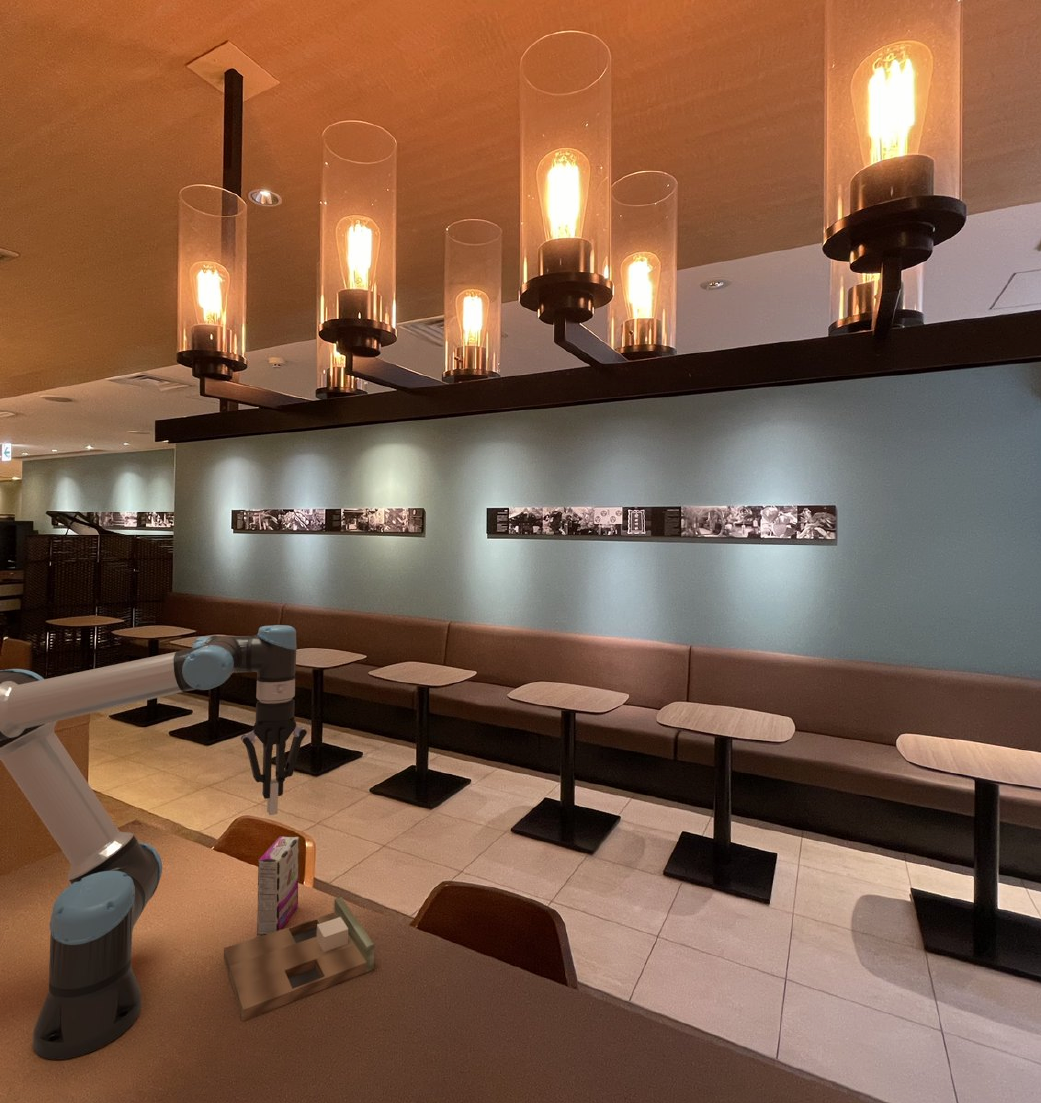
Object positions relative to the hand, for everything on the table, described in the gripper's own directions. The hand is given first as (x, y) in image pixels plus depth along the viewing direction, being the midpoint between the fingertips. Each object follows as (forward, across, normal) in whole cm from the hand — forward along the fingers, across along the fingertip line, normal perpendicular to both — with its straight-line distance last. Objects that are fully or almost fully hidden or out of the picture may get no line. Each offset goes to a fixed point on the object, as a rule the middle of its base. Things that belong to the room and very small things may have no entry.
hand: (272, 812), depth 123 cm
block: (+26, +11, -8) cm, 30 cm away
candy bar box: (+29, +4, +9) cm, 30 cm away
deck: (+28, +4, -8) cm, 30 cm away
